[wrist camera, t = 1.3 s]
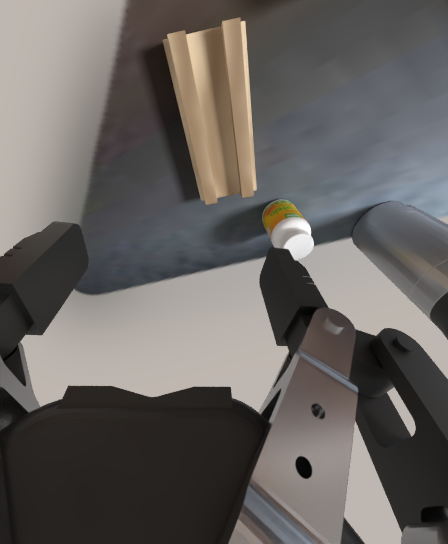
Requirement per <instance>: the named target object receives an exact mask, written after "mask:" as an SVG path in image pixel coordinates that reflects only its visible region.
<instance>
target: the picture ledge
mask: <svg viewBox="0 0 448 544" xmlns="http://www.w3.org/2000/svg"><path fill="white" fill-rule="evenodd" d="M167 35H168V39H165V40H163V44H164V48H165V52H166V56H167V61H168V65H169V69H170V73H171V77H172V81H173V86H174V90H175V94H176V98H177V102H178V106H179V111H180V115H181V119H182V123H183V127H184V131H185V136H186V140H187V144H188V148H189V152H190V156H191V161H192V165H193V169H194V173H195V177H196V181H197V186H198V190H199V194H200V198H201V201H203V200H205V202H206V205H208V204H213V203H218V202H217V198H218V197H223V196H229V195H234V194H239V193H241V196H242V198H244V197H249V196H254V190H257V188H256V174H255V159H254V144H253V130H252V115H251V101H250V86H249V72H248V57H247V43H246V28H245V21H243V22H241V21H240V18H235V19H231V20H227V21H223V22H222V25H221V27H217V28H212V29H208V30H204V31H199V32H195V33H191V34H186V33H185V30H184V31H180V32H175V33H171V34H167Z"/></svg>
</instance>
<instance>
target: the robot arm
mask: <svg viewBox="0 0 448 544" xmlns="http://www.w3.org/2000/svg"><path fill="white" fill-rule="evenodd" d="M352 240H353V242H354V244H355V245H356V246H357V247H358V248H359V249H360V250H361V251H362V252H363V253H364V254H365V255H366V256H367V258H368V259H369V260H370V261H371V262H372V263H373V264H374V265H376V267H377V268H378V269H379V270H381V271H382V272H383V274H385V275H386V276H387V277H388V278H389V279H390V280H391V281H392V282H393V283H394V284H395V285H396V286H397V287H398V288H399V289H400V290H401V291H402V292H403V293H404V294H405V295H406V296H407V297H408V298H409V299H410V300H411V301H412V302H413V303H414V304H415V305H416V306H417V307H418V308H419V309H420V310H421V311H422V312H423V313H424V314H425V315H426V316H427V317H428V318H429V319H430V320H431V321H432V322H433V323H434V324H435V325H436V326H437V327H438V328H439V329H440V330H441V331H442V332H443V334H444V335H445V337H446V338H447V339H448V224H446V223H444V222H442V221H440V220H438V219H437V218H435V217H433V216H431V215H429V214H427V213H425V212H423V211H421V210H420V209H418V208H416V207H414V206H406V205H404V204H402V203H400V202H392V201H391V202H386V203H382V204H380V205H377V206H376V207H374V208H372V209H371V210H369V211H368V212H366V213H365V214H364V215H363V216H362V217H361V218H360V220H359V221H358V222H357V224H356V225H355V227H354V230H353V234H352ZM87 267H88V254H87V250H86V246H85V242H84V239H83V235H82V231H81V228H80V226H79V225H78V224H73V223H65V222H53V223H51V224H50V225H49V226H47V227H46V228H45V229H44V230H43V231H41V232H38V233H36V234H34V235H31V236H29V237H26V238H24V239H22V241H20V242H19V243H17V244H16V245H15V246H14V247H13V249H10V250H9V251H7V252H6V253H5V254H4V256H1V257H0V544H365V543H364V542H363V541H362V540H361V538H360V537H359V536H358V534H357V533H356V532H355V531H354V529H353V528H352V527H351V526H350V524H349V523H348V522H347V520H346V519H345V518H344V510H345V501H346V493H347V484H348V476H349V468H350V459H351V451H352V442H353V433H354V424H355V421H356V423H357V425H358V428H359V430H360V433H361V435H362V437H363V440H364V442H365V445H366V447H367V450H368V452H369V454H370V457H371V459H372V462H373V464H374V466H375V469H376V471H377V474H378V476H379V478H380V481H381V483H382V486H383V488H384V491H385V493H386V495H387V498H388V500H389V502H390V505H391V507H392V510H393V512H394V515H395V517H396V519H397V522H398V524H399V527H400V529H401V531H402V538H401V544H448V379H447V378H446V377H445V376H444V374H443V373H442V372H441V371H440V370H439V368H438V367H437V366H436V364H435V363H434V362H433V361H432V359H431V358H430V357H429V356H428V355H427V353H426V352H425V351H424V349H423V348H422V347H421V346H420V345H419V344H418V343H417V342H416V341H415V340H414V339H412V338H411V337H410V336H408V335H406V334H405V333H403V332H401V331H399V330H396V329H391V328H385V329H383V330H382V331H381V332H380V333H379V334H378V335H377V336H374V335H371V334H368V333H365V332H362V331H358V330H356V329H355V327H354V325H353V324H352V323H351V321H350V320H349V319H348V318H347V317H345V316H344V315H343V314H341V313H340V312H338V311H336V310H333V309H330V308H328V306H327V304H326V303H325V301H324V299H323V297H322V296H321V294H320V292H319V290H318V289H317V287H316V285H314V282H313V280H312V278H310V275H309V273H308V272H307V270H306V268H305V267H303V265H301V264H300V263H299V262H298V261H295V260H294V258H293V257H292V255H291V253H290V251H289V250H288V249H283V248H275V247H271V248H270V250H269V252H268V254H267V257H266V260H265V263H264V265H263V268H262V271H261V274H260V288H261V291H262V295H263V298H264V302H265V305H266V309H267V312H268V316H269V319H270V323H271V326H272V330H273V333H274V336H275V340H276V344H277V346H288V349H289V352H288V354H287V355H286V358H285V360H284V362H283V364H282V366H281V368H280V370H279V373H278V375H277V377H276V379H275V381H274V383H273V385H272V388H271V390H270V392H269V394H268V396H267V397H266V399H265V401H264V403H263V405H262V406H261V408H260V411H259V412H257V411H256V410H254V409H253V408H252V407H250V406H248V405H247V404H245V403H243V402H241V401H238V400H236V399H233V398H232V396H231V387H192V388H188V389H184V390H180V391H176V392H173V393H169V394H165V395H162V396H158V397H147V396H144V395H140V394H137V393H134V392H130V391H127V390H123V389H120V388H117V387H113V386H68V388H67V390H66V392H65V394H64V396H63V399H61V400H58V401H55V402H52V403H49V404H46V405H44V406H42V407H40V405H39V403H38V401H37V400H36V397H35V395H34V392H33V389H32V384H31V380H30V375H29V371H28V367H27V362H26V358H25V353H24V349H23V346H22V344H21V343H20V341H21V340H22V338H23V337H24V336H25V335H43V333H44V332H45V330H46V329H47V327H48V326H49V324H50V323H51V321H52V320H53V318H54V317H55V316H56V314H57V313H58V311H59V310H60V308H61V307H62V305H63V304H64V302H65V301H66V299H67V298H68V296H69V295H70V293H71V292H72V291H73V289H74V288H75V286H76V285H77V283H78V282H79V280H80V279H81V277H82V276H83V274H84V273H85V271H86V270H87ZM393 387H395V389H396V390H397V392H398V394H399V395H400V397H401V399H402V400H403V402H404V403H405V405H406V407H407V409H408V410H409V412H410V414H411V415H412V417H413V419H414V421H415V426H416V431H415V434H414V435H413V436H412V437H411V435H410V433H409V431H408V430H407V428H406V426H405V424H404V422H403V421H402V419H401V417H400V415H399V413H398V412H397V410H396V408H395V406H394V405H393V403H392V401H391V400H390V397H389V396H388V394H387V392H388V391H389V390H391V389H392V388H393Z"/></svg>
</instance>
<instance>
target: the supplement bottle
mask: <svg viewBox="0 0 448 544" xmlns="http://www.w3.org/2000/svg"><path fill="white" fill-rule="evenodd" d="M262 221H263V224H264V227H265V229H266V231H267V233H268V235H269V237H270V240H271V242H272V244H273V246H274V247H275V248H283V249H288V250H289V251H290V253H291V255H292V257H293V258H294V260H300V259H303V258H305V257H306V256H308V255H309V254H310V252H311V251H312V249H313V247H314V241H313V238H312V237H311V228H310V226H309V224H308V222H307V221H306V220H305V219H304V218H303V216H302V215H301V214H300V213H299V211H298V210H297V209H296V208H295V206H294V205H293V204H292V203H291V202H289V201H287V200H283V199H280V200H275V201H273V202H271V203H270V204H269V205H268V206H267V207H266V208H265V210H264V211H263V215H262Z"/></svg>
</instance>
